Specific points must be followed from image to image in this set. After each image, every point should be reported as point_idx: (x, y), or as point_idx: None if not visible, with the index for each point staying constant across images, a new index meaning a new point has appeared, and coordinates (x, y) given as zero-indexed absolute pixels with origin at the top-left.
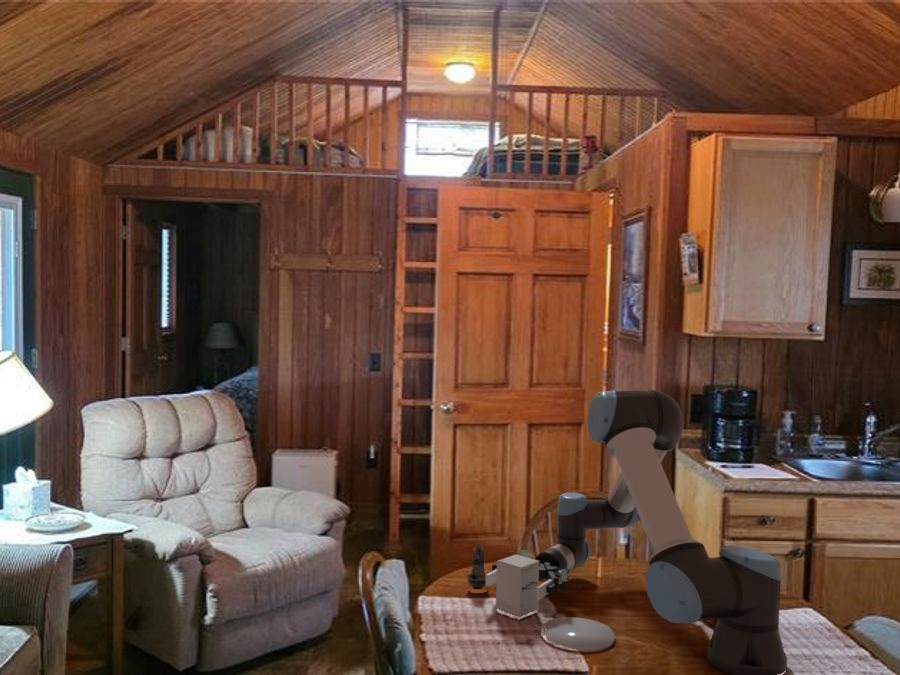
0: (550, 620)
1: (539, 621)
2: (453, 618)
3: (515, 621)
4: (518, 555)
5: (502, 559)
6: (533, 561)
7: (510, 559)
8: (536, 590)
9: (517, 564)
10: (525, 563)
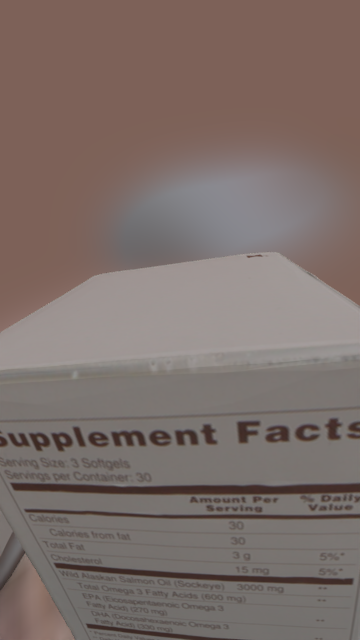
0: (5, 553)
1: None
2: None
3: None
4: (312, 333)
5: (275, 258)
6: (15, 331)
7: (231, 270)
8: None
9: (130, 273)
10: (84, 291)
